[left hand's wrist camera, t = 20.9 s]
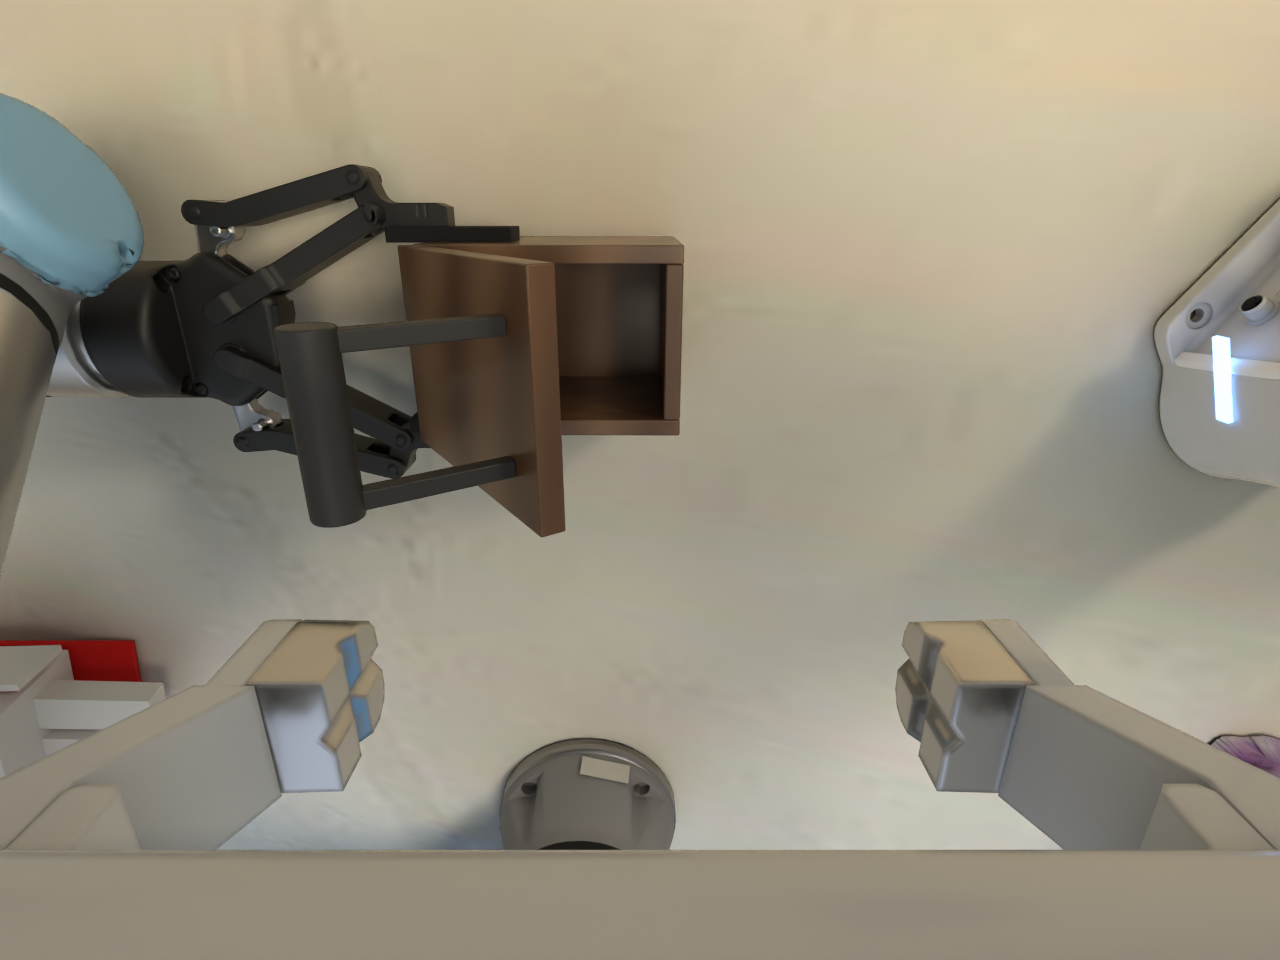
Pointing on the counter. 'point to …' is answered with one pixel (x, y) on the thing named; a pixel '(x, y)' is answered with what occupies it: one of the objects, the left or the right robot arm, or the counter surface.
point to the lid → (442, 389)
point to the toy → (65, 694)
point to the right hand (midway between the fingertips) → (521, 331)
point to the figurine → (1253, 751)
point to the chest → (611, 328)
